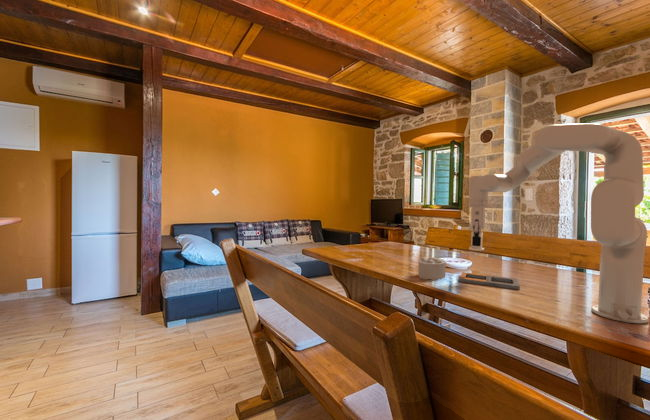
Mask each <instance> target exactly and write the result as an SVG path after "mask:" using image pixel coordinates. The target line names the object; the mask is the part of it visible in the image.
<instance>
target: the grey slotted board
mask: <svg viewBox="0 0 650 420" xmlns="http://www.w3.org/2000/svg"><path fill="white" fill-rule="evenodd" d="M459 283H465V284H472V285H473V284H474V285H478V286H479V285H480V286H487V287H488V286H489V287H494V288H503V289H510V290H515V291H516V290H518V291H520V290H521V287H520V285H521V284H520V281H519V279H518V278H514V277H513V278H512V277H505V276H504V277H503V276H495V275H487V274H485V273H475V272H468V271H467V272H464V271H463V272H461V274H460V277H459Z"/></svg>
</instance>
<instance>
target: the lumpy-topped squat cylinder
mask: <svg viewBox="0 0 650 420" xmlns="http://www.w3.org/2000/svg"><path fill="white" fill-rule="evenodd" d="M446 266H447V265H446V260H443V259H442V258H439V257H434V256H430V257H429V258H427V257H426V256H422V257H421V258H420V259H419V260H418V275H417V276H419V277H420V278H419V277H418V278H419V279H421V278H423V279H422V280H425V279H432V280H431V281H439V280H438V279H440V280H443V279H446V270H447V269H446ZM442 278H443V279H442ZM433 279H434V280H433ZM436 279H437V280H436Z"/></svg>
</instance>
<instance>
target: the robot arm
mask: <svg viewBox="0 0 650 420" xmlns="http://www.w3.org/2000/svg"><path fill="white" fill-rule="evenodd" d="M642 148H643V147H642V145H641V143H640V141H639V139H637V138H636V137H635V136H634V135H632V134H630V133H628V132H625V131H623V130H620V129H616V128H613V127H609V126H606V125H604V124H600V123H595V122H593V123H590V122H588V123H567V124H566V123H565V124H550V125H546V126H544V127H542V128H540V129H539V130H538V131H537V133H536V134H535V136H534V143H532V144H531V145H529V146H527V148H526V149H523V150H522V151H520V153H519V154H518V162H517V164H516V165H515V166H514V167H512V168H511V169H510V170H508V171H507V172H505V173H504V174H503V173H502V174H501V173H489V174H484V175H482V174H481V175H480V174H479V175H470V177H469V180H468V206H467V207H468V208H471V211H470V223H471V224H470V225H471V226H470V227H471V229H472V231H473V237H472V245H473V246H480V245H481V237H480V231H481V232H482V231H484V230H485V227H486V225H485V224H486V223H485V222H486V208H488V205H489V201H488V200H489V193H506V192H507V193H508V192H509V191H512V190H514V189H515V188H517V187H518V186H520V185H522V184H523V183H525V182H526V181H527V180H528V179H530V177H531V176H532V175H533V174H534V173H535V172H536V171H537V170H538V169H539V168H541V167H542V166H544V165H546V164H547V163H549V162H551V161H552V160H554V159H555V158H557V157H558V156H560V155H561V154H563V153H565V152H566V151H567V152H568V151H569V152H574V151H575V152H586V153H587V152H588V153H592V154H596V155H597V154H598V155H603V156H604V159H605V160H604V164H603V175H604V176H603V180H602V181H600V182H598V184H596V185H595V187H594V188H593V189H592V192H591V195H590V230H591V231H590V232H591V234H592V237H593V238H594V240H595V241H596V242H597V243H599V244H600V245H601V249H600V259H599V275H598V276H599V278H598V298H597V300H598V303H597V304H594V305H592V306H591V312H593V313H595V314H596V315H598V316H601V317H603V318H607V319H610V320H614V321H618V322H621V323H622V322H623V323H630V324H646V323H648V322H649V316H647V315H646V314H643V313H642V301H643V300H642V298H643V282H644V281H643V278H644V265H645V264H644V261H645V251H646V245H647V239H648V230H647V227H646V224H645V223H644V221H642V220H641V219H640V218H638V217H637V216H636V207H638V206H639V205H640V204H641V203H642V202H643V200H644V198H645V197H644V194H645V192H644V163H643V159H644V157H643V156H644V154H643V149H642Z"/></svg>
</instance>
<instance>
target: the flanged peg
mask: <svg viewBox="0 0 650 420" xmlns="http://www.w3.org/2000/svg"><path fill="white" fill-rule="evenodd" d="M470 234H471V235H470V236H471V237H470V238H471V239H470V242H471V243H470V246H469V247H468V250H469V251H470V250H471V251H477V252H478V251H479V252H483V251H485V247H483V240H484V239H483V237H484V236H483V234H484V232H483V231H482V230H481V231H480V237H481V245H480V246H473V245H472V237H473V230H472V231H471V233H470Z"/></svg>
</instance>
